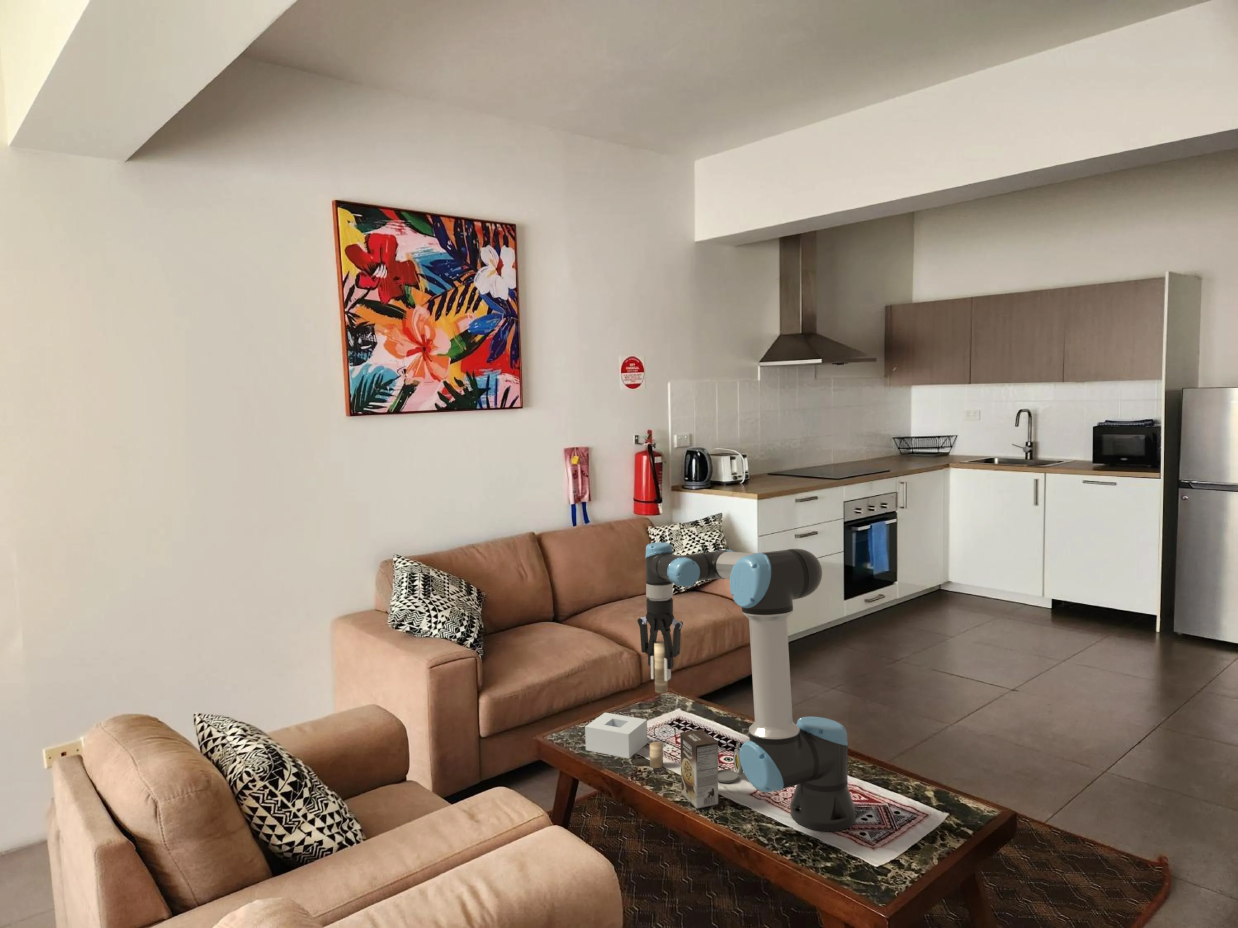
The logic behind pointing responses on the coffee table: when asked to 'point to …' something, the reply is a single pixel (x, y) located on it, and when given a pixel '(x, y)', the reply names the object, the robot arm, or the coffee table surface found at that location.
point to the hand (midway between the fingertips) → (660, 678)
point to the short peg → (656, 755)
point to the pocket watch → (731, 775)
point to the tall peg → (660, 667)
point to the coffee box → (699, 768)
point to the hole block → (616, 735)
